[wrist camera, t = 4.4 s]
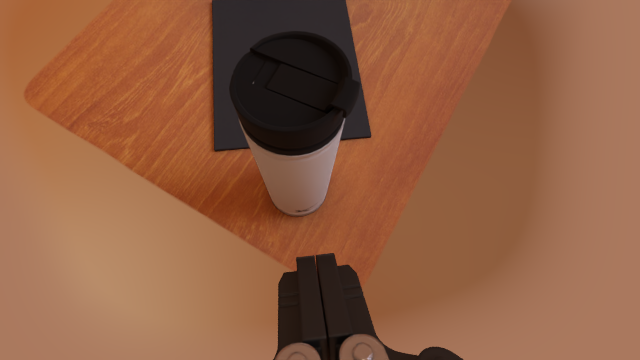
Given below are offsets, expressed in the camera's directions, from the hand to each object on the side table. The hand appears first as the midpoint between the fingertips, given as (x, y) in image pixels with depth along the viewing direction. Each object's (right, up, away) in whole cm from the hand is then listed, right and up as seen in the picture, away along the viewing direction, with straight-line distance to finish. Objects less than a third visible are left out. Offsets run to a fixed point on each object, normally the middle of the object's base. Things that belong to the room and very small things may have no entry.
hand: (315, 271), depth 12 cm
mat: (-4, +18, +26) cm, 32 cm away
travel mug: (-2, +3, +21) cm, 22 cm away
